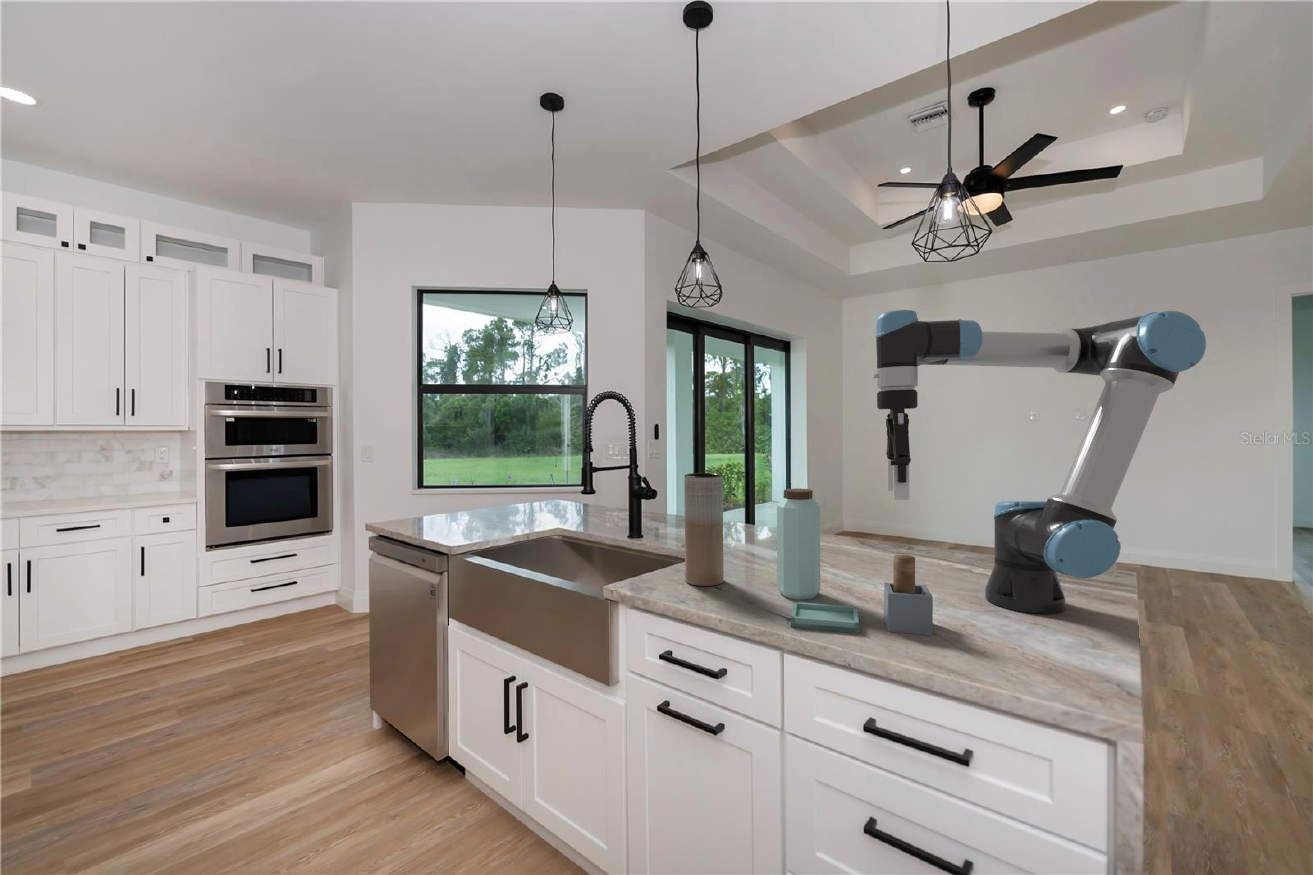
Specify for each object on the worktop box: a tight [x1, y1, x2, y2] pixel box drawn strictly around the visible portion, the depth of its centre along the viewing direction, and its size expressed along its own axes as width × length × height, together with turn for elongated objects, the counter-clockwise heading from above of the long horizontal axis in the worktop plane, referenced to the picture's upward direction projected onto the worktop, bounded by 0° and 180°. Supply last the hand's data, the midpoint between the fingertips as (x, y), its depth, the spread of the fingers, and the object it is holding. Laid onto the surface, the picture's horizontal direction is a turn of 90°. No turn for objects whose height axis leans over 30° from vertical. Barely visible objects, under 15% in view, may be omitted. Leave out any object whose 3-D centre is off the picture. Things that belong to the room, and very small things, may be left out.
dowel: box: [892, 554, 916, 594], centre depth 115 cm, size 4×4×14 cm
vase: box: [683, 472, 725, 587], centre depth 148 cm, size 10×10×28 cm
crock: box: [883, 581, 934, 636], centre depth 115 cm, size 8×8×8 cm
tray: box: [790, 601, 860, 634], centre depth 118 cm, size 13×10×2 cm
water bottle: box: [776, 487, 821, 601], centre depth 136 cm, size 10×10×25 cm
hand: (897, 495), depth 115 cm, fingers open, 13 cm apart
